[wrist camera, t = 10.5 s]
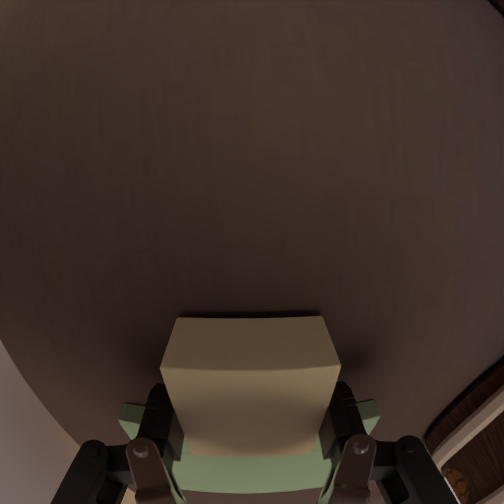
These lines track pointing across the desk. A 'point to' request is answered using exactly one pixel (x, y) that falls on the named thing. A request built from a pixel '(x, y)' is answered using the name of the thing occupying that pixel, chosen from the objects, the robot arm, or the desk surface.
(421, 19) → the desk surface
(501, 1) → the can
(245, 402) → the cream pad
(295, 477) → the sage mat
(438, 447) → the mug
